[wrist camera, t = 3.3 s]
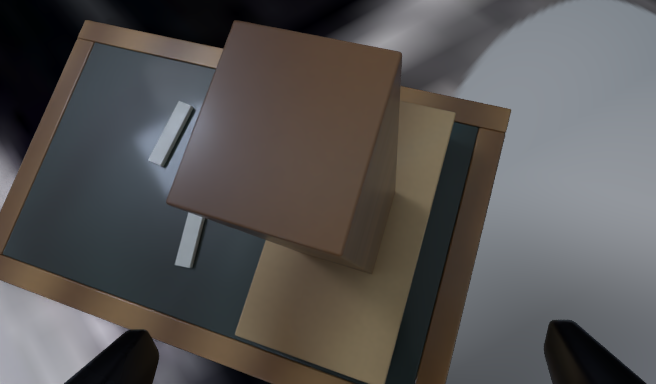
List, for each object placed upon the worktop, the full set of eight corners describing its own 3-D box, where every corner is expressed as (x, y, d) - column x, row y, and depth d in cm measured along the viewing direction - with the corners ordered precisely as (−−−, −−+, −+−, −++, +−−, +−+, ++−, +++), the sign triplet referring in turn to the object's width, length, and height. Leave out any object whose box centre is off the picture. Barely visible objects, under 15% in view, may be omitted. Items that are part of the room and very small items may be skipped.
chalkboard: (504, 118, 20) (511, 108, 19) (428, 434, 18) (431, 444, 17) (99, 31, 25) (85, 19, 24) (-6, 270, 23) (-27, 270, 22)
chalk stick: (210, 197, 21) (207, 196, 20) (192, 268, 20) (189, 268, 20) (195, 195, 21) (193, 194, 20) (177, 265, 20) (174, 264, 20)
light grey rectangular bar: (194, 107, 22) (191, 105, 22) (163, 167, 21) (160, 165, 21) (181, 102, 22) (178, 100, 22) (150, 161, 21) (147, 160, 21)
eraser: (447, 136, 19) (550, -134, 7) (384, 373, 18) (370, 592, 5) (326, 108, 21) (228, -164, 8) (256, 328, 19) (-12, 414, 6)
